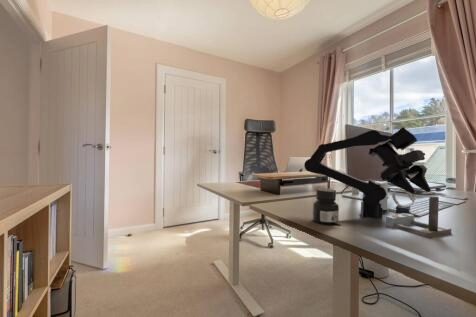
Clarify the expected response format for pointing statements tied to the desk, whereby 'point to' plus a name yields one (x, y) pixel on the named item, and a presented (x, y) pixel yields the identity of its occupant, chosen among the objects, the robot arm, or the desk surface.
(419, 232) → the open grey box
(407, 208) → the watch
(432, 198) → the grey cylinder
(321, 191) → the ink bottle
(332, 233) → the desk surface
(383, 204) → the supplement box
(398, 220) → the gauge cabinet
